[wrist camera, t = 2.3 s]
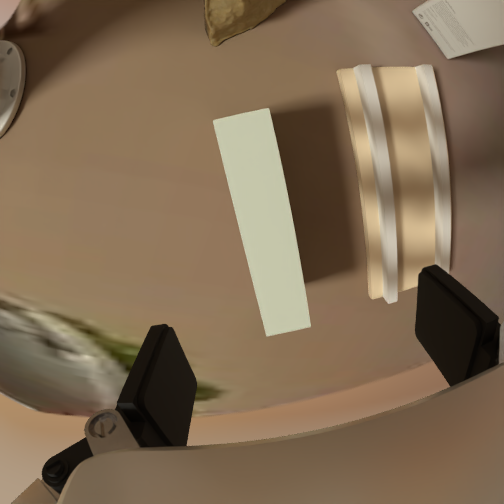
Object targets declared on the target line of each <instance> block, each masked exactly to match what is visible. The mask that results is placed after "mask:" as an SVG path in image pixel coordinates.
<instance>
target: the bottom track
mask: <svg viewBox="0 0 504 504" xmlns="http://www.w3.org/2000/svg"><path fill="white" fill-rule="evenodd" d="M336 72H337V76H338V80H339V84H340V88H341V93H342V97H343V101H344V106H345V111H346V115H347V120H348V125H349V130H350V135H351V141H352V146H353V152H354V158H355V164H356V170H357V177H358V184H359V191H360V199H361V207H362V215H363V225H364V235H365V246H366V259H367V274H368V293H369V296H370V298H371V299H376V298H379V297H384V299H385V300H386V301H387V302H388V304H390V303H393V302H396V301H397V292H400V291H403V290H407V289H410V288H413V287H416V286H418V274H419V273H420V272H421V270H422V268H424V267H427V266H431V265H434V264H437V265H438V266H440V267H441V268H442V269H443V270H445V271H446V272H447V273H448V274H449V272H450V257H451V185H450V170H449V159H448V149H447V140H446V133H445V126H444V119H443V113H442V107H441V102H440V97H439V92H438V87H437V83H436V78H435V74H434V70H433V68H432V65H420V66H417V67H371V65H370V64H363V65H358V66H356V67H354V68H349V69H339V70H338V71H336Z"/></svg>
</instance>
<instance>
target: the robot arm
mask: <svg viewBox="0 0 504 504" xmlns="http://www.w3.org/2000/svg"><path fill="white" fill-rule="evenodd" d="M25 76H26V65H25V59H24V55H23V53H22V50H21V49H20V48H19V46H18V45H16V44H15V43H13V42H10V41H0V137H1V136H2V135H3V134H4V133H5V131H6V130H7V129H8V127H9V126H10V124H11V122H12V120H13V119H14V117H15V114H16V112H17V110H18V107H19V104H20V101H21V98H22V94H23V90H24V85H25ZM498 319H499V317H498V316H497V315H496V314H495V313H494V312H493V311H491V310H490V309H489V308H488V307H487V306H486V305H485V304H484V303H483V302H481V301H480V300H479V299H478V298H477V297H476V296H475V295H473V294H472V293H471V292H470V291H469V290H468V289H466V288H465V287H464V286H463V285H462V284H460V283H459V282H458V281H457V280H456V279H454V278H453V277H452V276H451V275H449V274H448V273H447V272H446V271H445V270H443V269H442V268H441V267H440V266H438V265H437V264H434V265H431V266H427V267H424V268H422V270H421V272H420V273H419V274H418V293H417V311H416V324H415V334H416V337H417V339H418V340H419V342H420V343H421V344H422V346H423V347H424V349H425V350H426V351H427V353H428V354H429V356H430V357H431V359H432V360H433V361H434V363H435V364H436V366H437V367H438V369H439V370H440V371H441V373H442V375H443V376H444V378H445V379H446V381H447V382H448V383H449V385H450V387H449V388H447V389H444V390H442V391H440V392H437V393H435V394H433V395H430V396H427V397H425V398H423V399H420V400H417V401H414V402H412V403H409V404H406V405H404V406H400V407H398V408H395V409H392V410H389V411H385V412H383V413H379V414H376V415H373V416H370V417H366V418H362V419H359V420H355V421H352V422H348V423H344V424H340V425H336V426H332V427H328V428H323V429H319V430H315V431H310V432H305V433H300V434H294V435H288V436H282V437H277V438H269V439H263V440H256V441H247V442H238V443H227V444H214V445H201V446H186V445H187V440H188V434H189V428H190V422H191V417H192V411H193V405H194V400H195V394H196V389H197V381H196V378H195V375H194V373H193V371H192V369H191V367H190V365H189V363H188V360H187V358H186V356H185V354H184V352H183V349H182V347H181V345H180V343H179V340H178V338H177V336H176V334H175V331H174V329H173V328H172V327H168V325H167V324H161V325H155V326H151V328H150V330H149V332H148V334H147V336H146V338H145V340H144V342H143V345H142V347H141V349H140V351H139V353H138V355H137V358H136V360H135V362H134V364H133V366H132V369H131V371H130V373H129V376H128V378H127V380H126V382H125V385H124V387H123V389H122V392H121V394H120V396H119V399H118V401H117V406H116V409H115V410H113V409H104V410H101V411H98V412H96V413H95V414H93V415H92V416H91V417H90V418H89V419H88V421H87V423H86V425H85V429H84V431H85V435H86V437H85V438H84V439H82V440H80V441H79V442H77V443H75V444H74V445H72V446H70V447H69V448H67V449H65V450H63V451H62V452H60V453H58V454H56V455H55V456H53V457H51V458H50V459H49V460H48V461H47V462H46V463H45V465H44V467H43V469H42V477H43V479H42V480H40V479H38V478H37V479H36V480H35V481H34V482H33V483H32V484H31V485H30V486H29V487H28V488H27V489H26V490H25V491H24V492H23V493H21V495H19V496H18V497H17V498H16V499H15V500H14V501H13V502H12V503H11V504H504V322H503V323H502V325H501V324H499V323H498Z"/></svg>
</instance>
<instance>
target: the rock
mask: <svg viewBox="0 0 504 504" xmlns="http://www.w3.org/2000/svg"><path fill="white" fill-rule="evenodd" d="M285 1H287V0H204V5H205V7H204V10H205V12H204V17H205V18H204V19H205V30H206V33H207V36H208V38H209V39H210V42H211V45H212V46H218V45H219V44H220V43H221V42H222V41H223V40H225V39H228V38H230V37H232V36H234V35H236V34H239V33H243V32H244V31H246V30H248V29H253V28H254V27H255V26H256V25H257V24H258V23H260V22H261V21H263V20H265V19H266V18H268V17H269V15H270V14H271V13H273V12H274V11H275V9H276V8H277V7H278V6H279V5H280V4H283V3H284V2H285Z"/></svg>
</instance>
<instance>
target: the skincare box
mask: <svg viewBox="0 0 504 504" xmlns="http://www.w3.org/2000/svg"><path fill="white" fill-rule="evenodd" d="M412 12H413V13H414V15H415V16H416V17H417V19H418V20H419V21H420V22H421V24H422V25H423V26H424V28H425V29H426V30H427V32H428V33H429V34H430V35H431V37H432V38H433V40H434V41H435V42H436V44H437V45H438V46H439V48H440V49H441V51H442V52H443V54H444V55H445V56H446V58H447V59H451V58H454V57H458V56H461V55H465V54H468V53H472V52H475V51H479V50H483V49H487V48H491V47H495V46H499V45H504V0H428V1H426V2H425V3H423V4H422V5H420V6H419V7H417V8H416V9H414V10H413V11H412Z"/></svg>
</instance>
